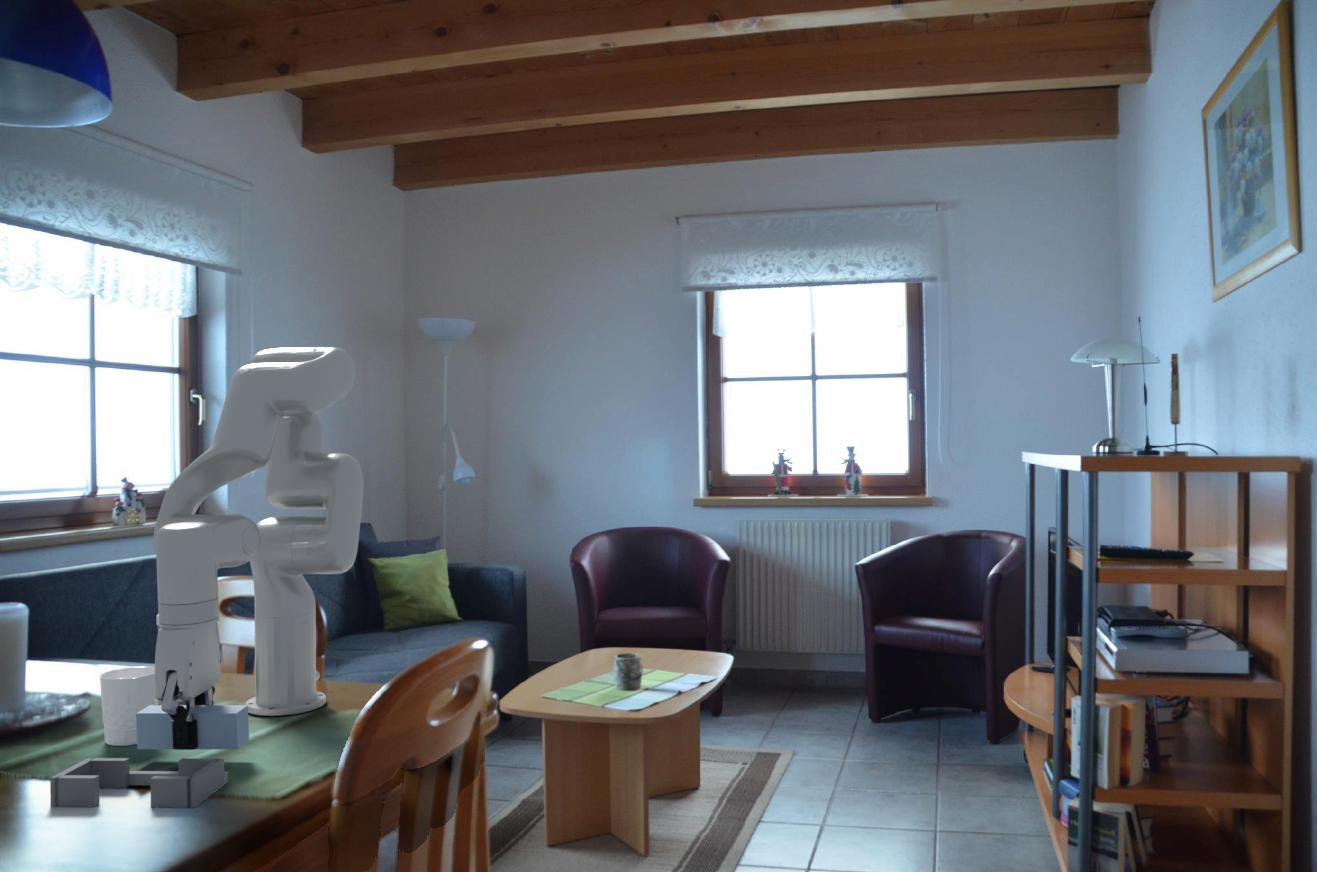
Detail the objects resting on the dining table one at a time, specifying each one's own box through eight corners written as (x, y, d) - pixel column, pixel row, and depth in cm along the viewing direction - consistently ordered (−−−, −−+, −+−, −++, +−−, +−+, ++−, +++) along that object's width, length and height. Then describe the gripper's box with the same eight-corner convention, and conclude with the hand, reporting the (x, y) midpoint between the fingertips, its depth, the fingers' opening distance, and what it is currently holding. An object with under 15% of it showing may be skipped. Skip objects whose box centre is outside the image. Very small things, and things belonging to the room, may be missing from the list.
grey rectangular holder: (92, 782, 130) (92, 755, 130) (228, 783, 130) (227, 756, 130) (50, 806, 122) (50, 777, 122) (195, 807, 121) (194, 778, 121)
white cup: (135, 749, 144) (134, 680, 144) (87, 746, 146) (87, 677, 146) (172, 733, 152) (171, 667, 152) (126, 730, 153) (126, 665, 153)
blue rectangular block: (137, 749, 137) (136, 713, 137) (151, 740, 140) (150, 705, 140) (237, 749, 136) (236, 713, 136) (248, 740, 140) (247, 705, 140)
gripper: (192, 599, 146) (196, 723, 147) (128, 627, 129) (133, 765, 130) (242, 599, 146) (246, 723, 146) (184, 626, 129) (189, 766, 130)
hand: (193, 741), depth 138 cm, fingers closed on blue rectangular block, 3 cm apart
